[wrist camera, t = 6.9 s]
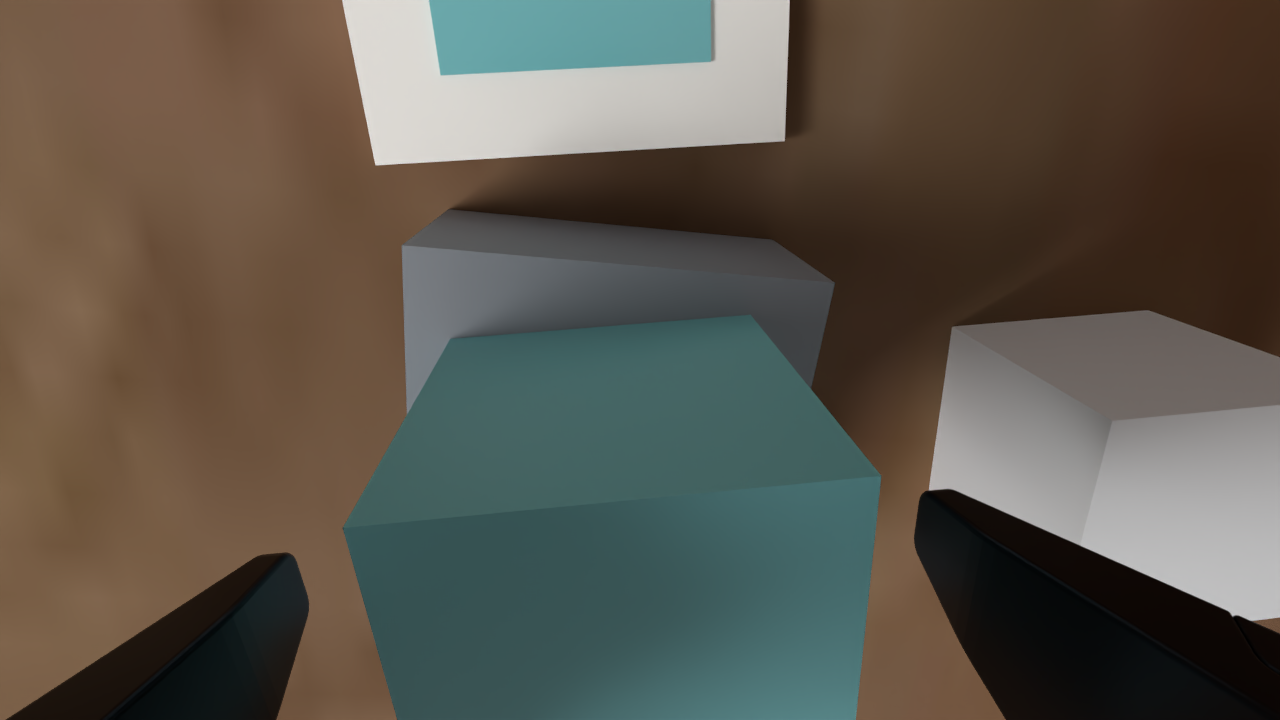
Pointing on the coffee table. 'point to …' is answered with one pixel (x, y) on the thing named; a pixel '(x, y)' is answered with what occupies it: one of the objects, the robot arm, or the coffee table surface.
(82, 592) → the coffee table surface
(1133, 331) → the white block
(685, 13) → the tile
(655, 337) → the teal block
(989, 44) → the coffee table surface
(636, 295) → the slate base block
